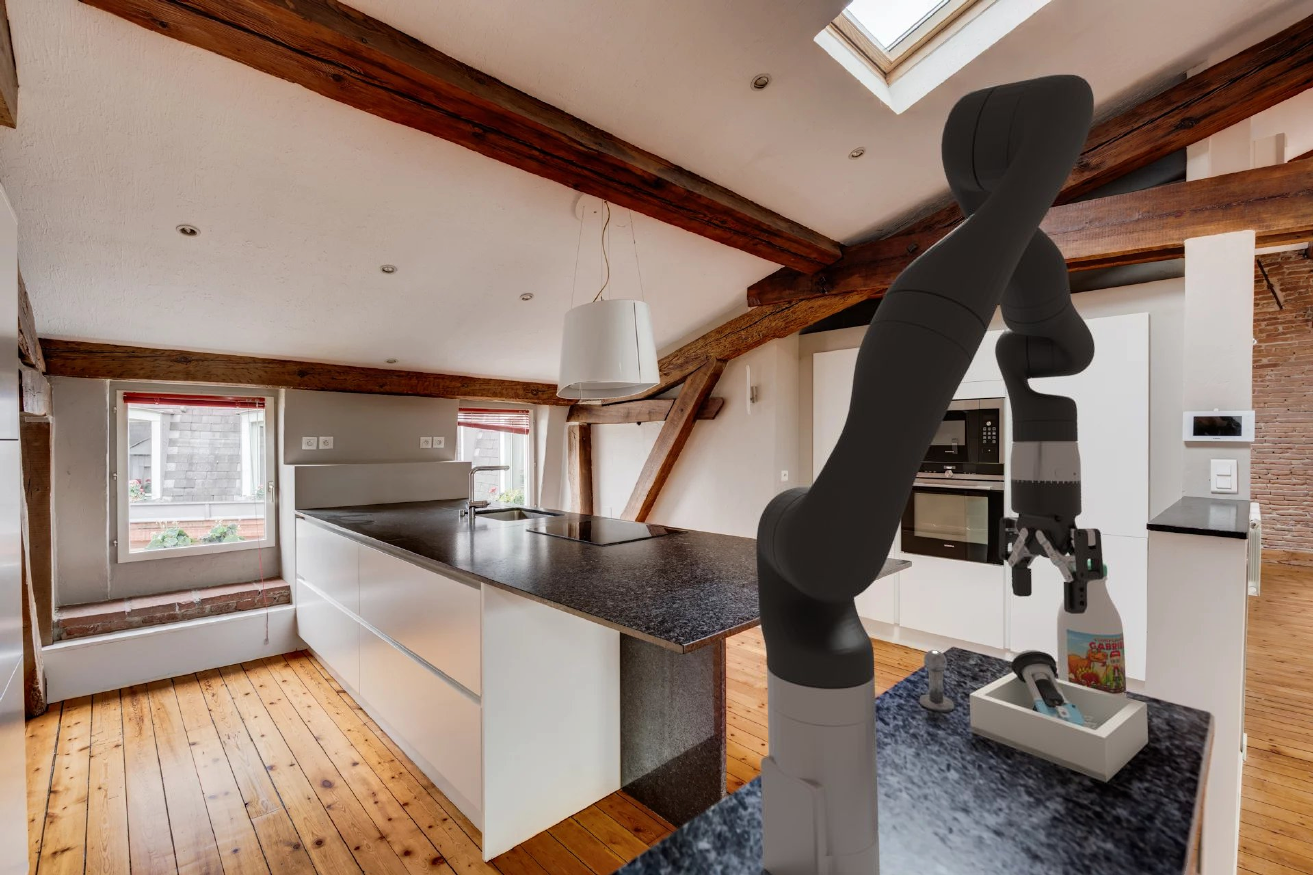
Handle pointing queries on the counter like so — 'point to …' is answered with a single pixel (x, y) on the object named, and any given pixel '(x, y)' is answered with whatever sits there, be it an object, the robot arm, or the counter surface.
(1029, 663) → the push button
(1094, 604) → the milk bottle
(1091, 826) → the counter surface
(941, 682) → the ball stud post
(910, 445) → the robot arm
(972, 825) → the counter surface
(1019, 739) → the bin
